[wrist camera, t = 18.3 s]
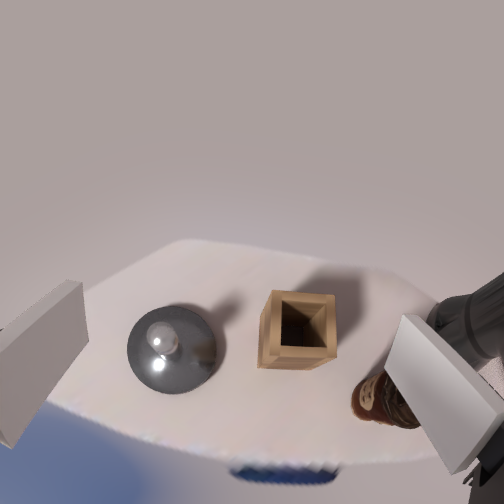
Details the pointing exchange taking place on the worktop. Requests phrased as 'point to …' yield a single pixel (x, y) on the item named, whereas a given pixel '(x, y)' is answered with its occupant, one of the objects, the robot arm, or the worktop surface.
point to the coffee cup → (382, 403)
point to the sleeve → (297, 315)
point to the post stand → (171, 350)
